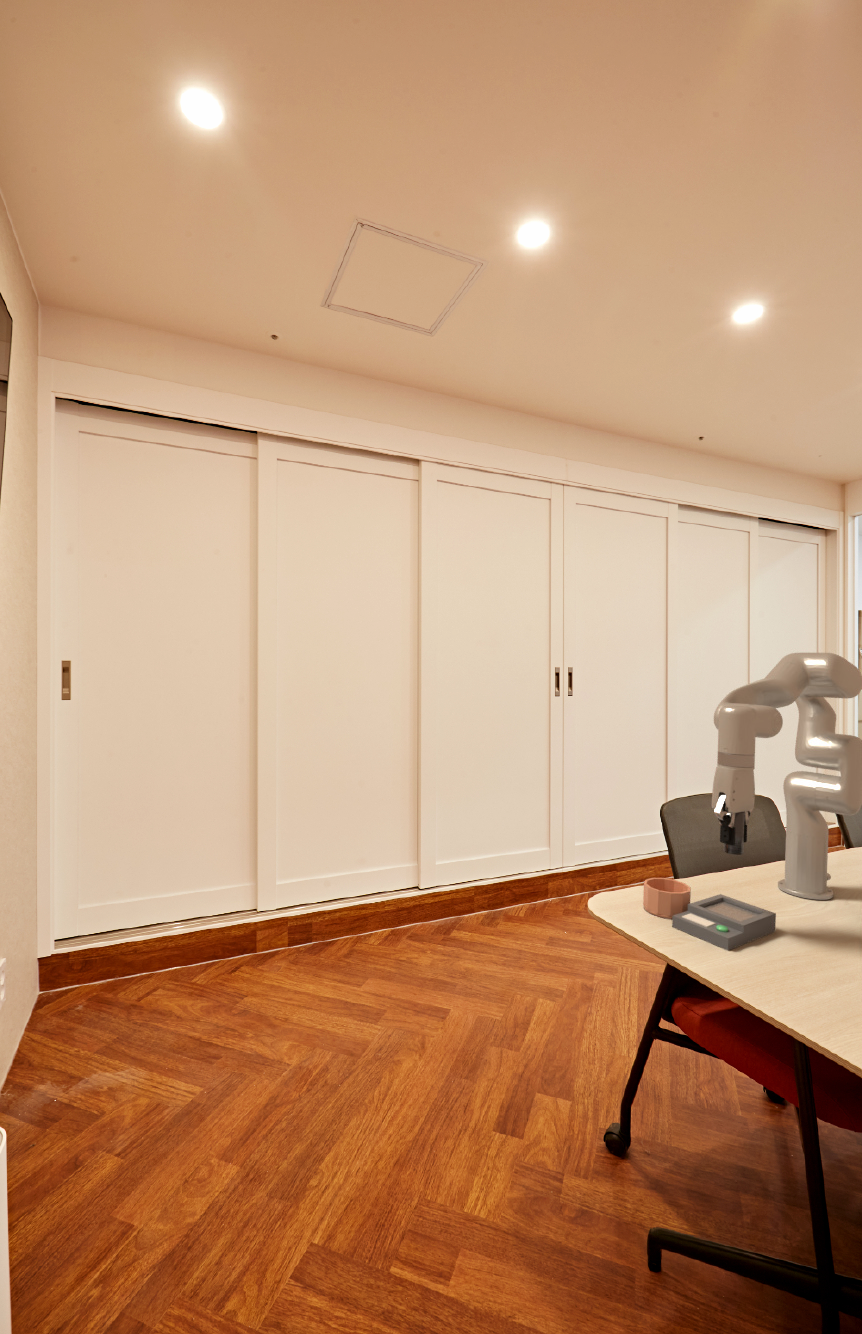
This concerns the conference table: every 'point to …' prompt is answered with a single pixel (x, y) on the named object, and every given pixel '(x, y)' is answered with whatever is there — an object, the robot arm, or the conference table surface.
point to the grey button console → (724, 923)
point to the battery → (736, 835)
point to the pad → (732, 911)
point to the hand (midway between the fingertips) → (733, 841)
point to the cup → (665, 897)
